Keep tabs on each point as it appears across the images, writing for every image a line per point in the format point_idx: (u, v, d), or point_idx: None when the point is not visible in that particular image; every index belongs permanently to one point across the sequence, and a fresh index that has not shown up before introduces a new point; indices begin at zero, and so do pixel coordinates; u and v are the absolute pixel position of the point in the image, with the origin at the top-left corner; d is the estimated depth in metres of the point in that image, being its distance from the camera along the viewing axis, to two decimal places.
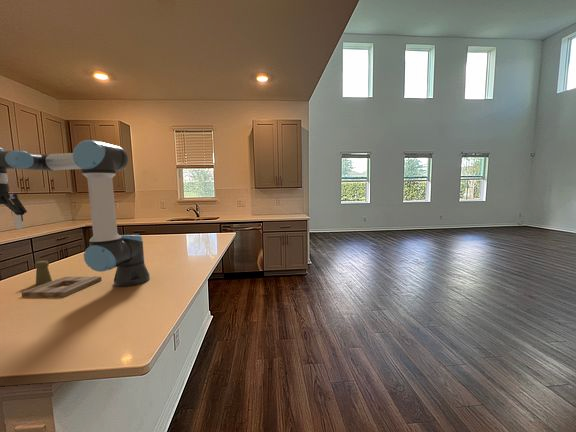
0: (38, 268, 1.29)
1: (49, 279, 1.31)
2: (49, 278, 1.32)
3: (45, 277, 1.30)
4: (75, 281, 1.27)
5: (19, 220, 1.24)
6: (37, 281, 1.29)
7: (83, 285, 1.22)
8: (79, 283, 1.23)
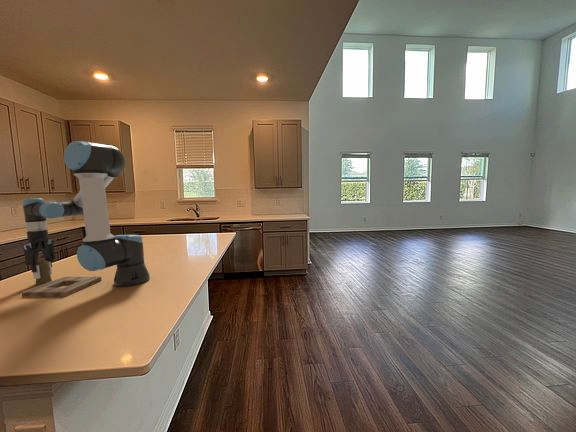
0: None
1: (49, 279, 1.31)
2: (49, 278, 1.32)
3: (45, 277, 1.30)
4: (75, 281, 1.27)
5: (49, 267, 1.33)
6: (37, 281, 1.29)
7: (83, 285, 1.22)
8: (79, 283, 1.23)
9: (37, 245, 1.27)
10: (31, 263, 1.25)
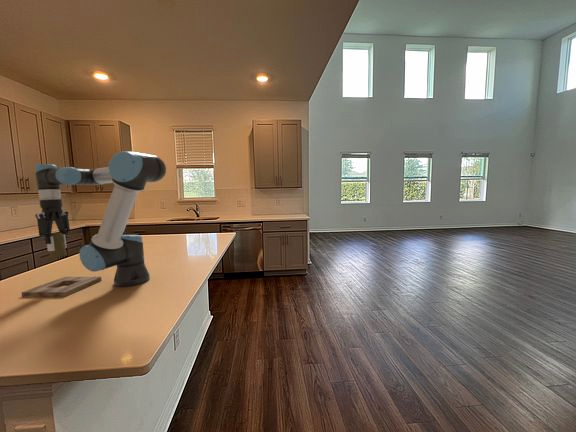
0: None
1: (64, 252, 1.23)
2: (64, 251, 1.23)
3: (60, 250, 1.21)
4: (75, 281, 1.27)
5: (63, 239, 1.25)
6: (51, 254, 1.20)
7: (83, 285, 1.22)
8: (79, 283, 1.23)
9: (51, 215, 1.19)
10: (45, 233, 1.16)
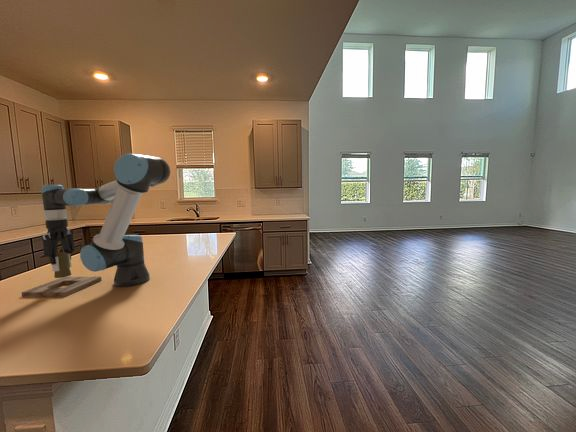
0: None
1: (68, 272, 1.22)
2: (68, 271, 1.23)
3: (65, 270, 1.21)
4: (75, 281, 1.27)
5: (68, 259, 1.24)
6: (56, 274, 1.20)
7: (83, 285, 1.22)
8: (79, 283, 1.23)
9: (56, 235, 1.18)
10: (50, 254, 1.16)
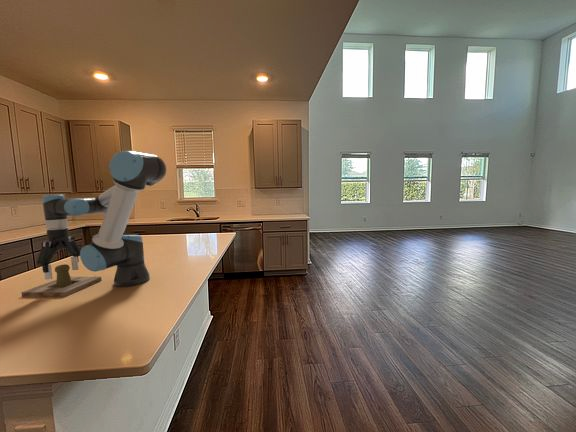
0: (59, 272, 1.20)
1: (70, 284, 1.23)
2: (70, 283, 1.23)
3: (66, 282, 1.22)
4: (75, 281, 1.27)
5: (76, 262, 1.28)
6: (57, 286, 1.20)
7: (83, 285, 1.22)
8: (79, 283, 1.23)
9: (57, 244, 1.18)
10: (43, 262, 1.12)
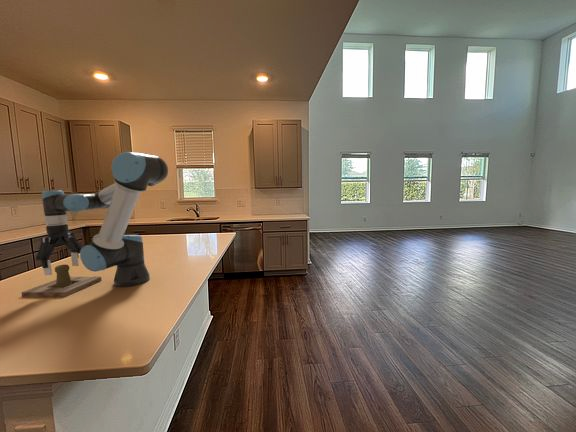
0: (59, 273, 1.20)
1: (70, 284, 1.23)
2: (70, 283, 1.23)
3: (66, 283, 1.21)
4: (75, 281, 1.27)
5: (76, 258, 1.28)
6: (57, 286, 1.20)
7: (83, 285, 1.22)
8: (79, 283, 1.23)
9: (56, 240, 1.18)
10: (42, 258, 1.12)
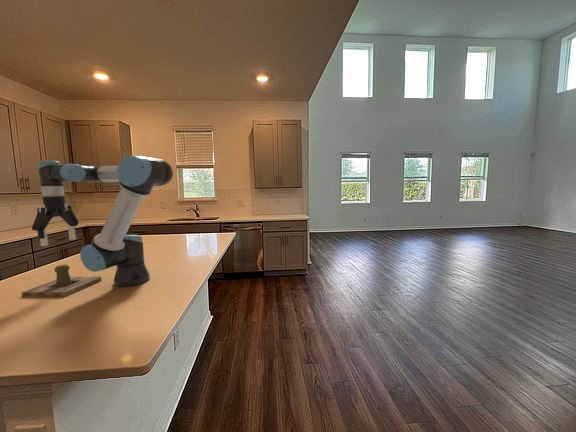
0: (58, 273, 1.20)
1: (70, 284, 1.23)
2: (70, 283, 1.23)
3: (66, 283, 1.21)
4: (75, 281, 1.27)
5: (73, 231, 1.27)
6: (57, 286, 1.20)
7: (83, 285, 1.22)
8: (79, 283, 1.23)
9: (53, 211, 1.17)
10: (38, 227, 1.11)
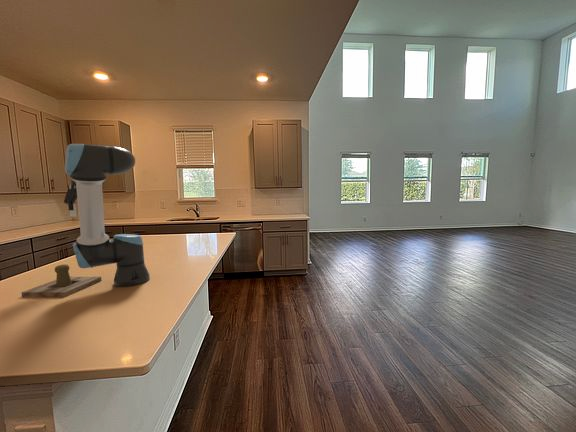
0: (58, 273, 1.20)
1: (70, 284, 1.23)
2: (70, 283, 1.23)
3: (66, 283, 1.21)
4: (75, 281, 1.27)
5: None
6: (57, 286, 1.20)
7: (83, 285, 1.22)
8: (79, 283, 1.23)
9: None
10: (69, 201, 1.34)
